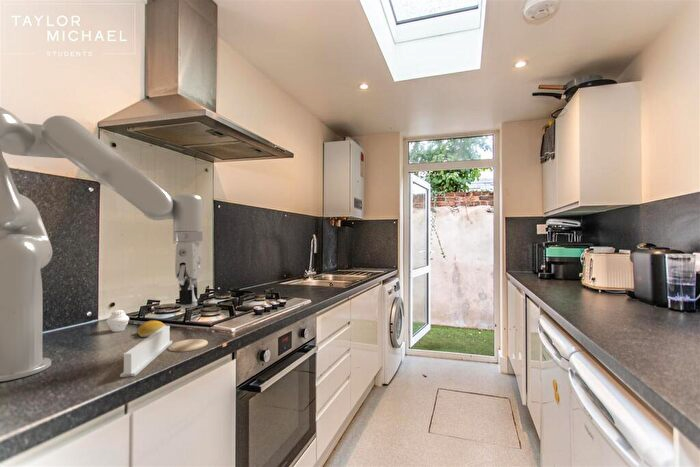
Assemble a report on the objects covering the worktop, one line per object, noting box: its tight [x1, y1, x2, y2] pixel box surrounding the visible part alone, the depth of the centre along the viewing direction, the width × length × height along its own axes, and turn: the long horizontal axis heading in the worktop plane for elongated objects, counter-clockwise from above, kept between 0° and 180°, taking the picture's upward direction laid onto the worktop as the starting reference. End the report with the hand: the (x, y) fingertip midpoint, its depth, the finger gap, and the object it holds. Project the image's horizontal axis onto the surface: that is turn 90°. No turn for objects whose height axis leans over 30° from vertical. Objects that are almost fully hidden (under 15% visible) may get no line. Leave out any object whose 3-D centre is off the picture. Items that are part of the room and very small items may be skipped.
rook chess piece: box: [179, 278, 198, 309], centre depth 95 cm, size 4×4×8 cm
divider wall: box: [119, 325, 173, 378], centre depth 86 cm, size 3×24×5 cm, turn 10°
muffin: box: [106, 309, 130, 333], centre depth 111 cm, size 6×6×7 cm
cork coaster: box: [167, 338, 209, 353], centre depth 95 cm, size 10×10×1 cm
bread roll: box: [137, 319, 167, 338], centre depth 108 cm, size 8×9×4 cm
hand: (188, 301), depth 95 cm, fingers closed on rook chess piece, 4 cm apart
